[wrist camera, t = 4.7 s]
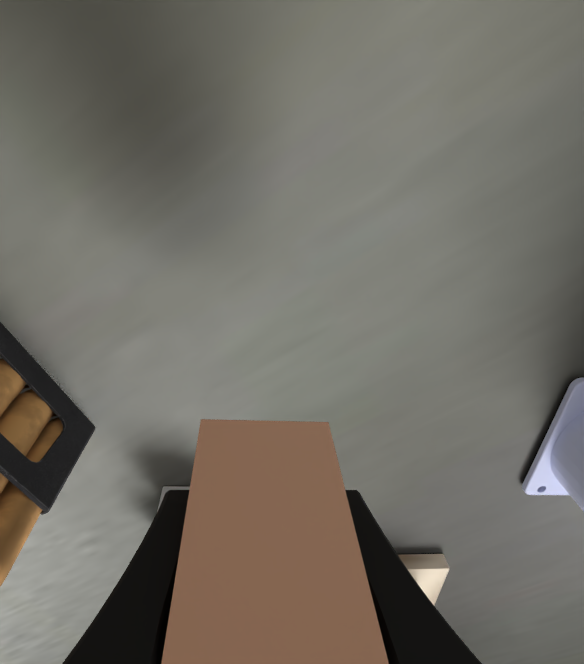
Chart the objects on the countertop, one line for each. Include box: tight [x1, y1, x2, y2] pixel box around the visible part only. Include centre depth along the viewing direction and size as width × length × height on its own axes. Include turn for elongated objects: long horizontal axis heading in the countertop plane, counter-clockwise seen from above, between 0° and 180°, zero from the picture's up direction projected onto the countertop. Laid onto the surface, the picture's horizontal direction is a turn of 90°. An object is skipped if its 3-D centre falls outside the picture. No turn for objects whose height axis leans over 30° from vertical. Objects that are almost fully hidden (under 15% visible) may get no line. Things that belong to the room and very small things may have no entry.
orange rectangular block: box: [161, 419, 389, 664], centre depth 10 cm, size 4×4×6 cm
